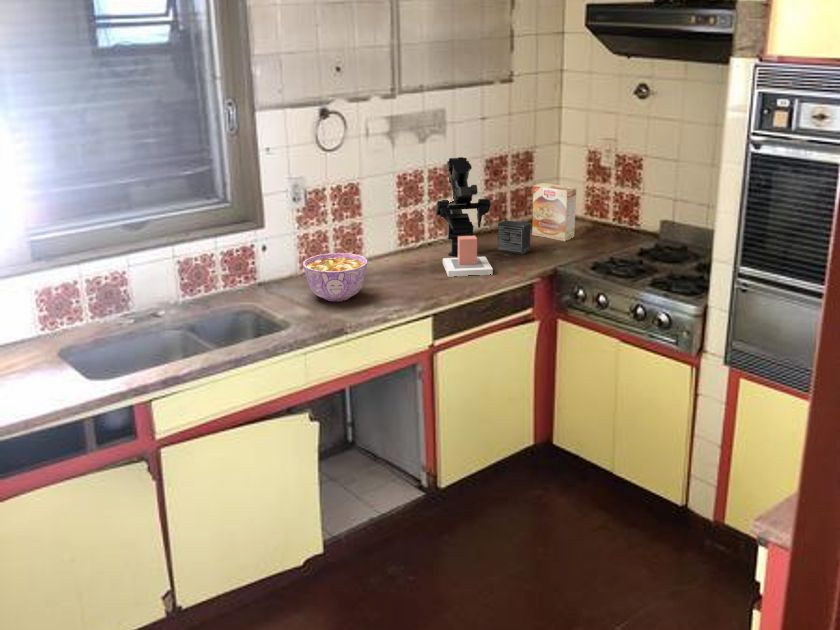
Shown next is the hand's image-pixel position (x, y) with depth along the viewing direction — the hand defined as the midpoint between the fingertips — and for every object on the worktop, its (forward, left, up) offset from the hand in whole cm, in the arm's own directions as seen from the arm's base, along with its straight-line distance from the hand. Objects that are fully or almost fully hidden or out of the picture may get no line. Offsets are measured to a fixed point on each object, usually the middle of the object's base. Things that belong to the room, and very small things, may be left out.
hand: (466, 228), depth 317 cm
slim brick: (+6, +2, -11) cm, 12 cm away
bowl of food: (+48, -26, -13) cm, 56 cm away
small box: (-21, +10, -13) cm, 27 cm away
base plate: (+6, +2, -13) cm, 14 cm away
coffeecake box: (-45, +18, -13) cm, 51 cm away
